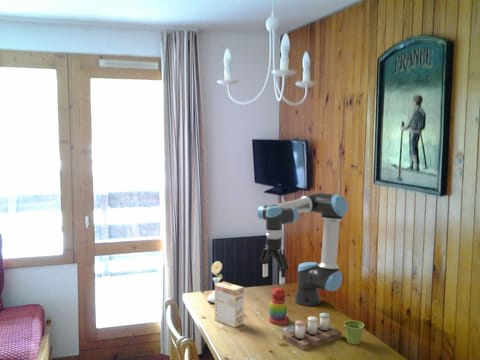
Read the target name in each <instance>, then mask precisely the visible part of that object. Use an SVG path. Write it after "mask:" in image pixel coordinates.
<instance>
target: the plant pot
mask: <svg viewBox="0 0 480 360" xmlns="http://www.w3.org/2000/svg"><path fill="white" fill-rule="evenodd" d="M343 325H344V328H345V335H346V341H347V343H348V344H349V345H360V344H361V340H362V334H363V331H364V330H363V329H364V327H365V324H364V323H363V322H362V321H359V320H353V319H352V320H350V319H349V320H346V321H344V322H343Z"/></svg>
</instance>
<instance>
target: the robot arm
mask: <svg viewBox="0 0 480 360" xmlns="http://www.w3.org/2000/svg"><path fill="white" fill-rule="evenodd" d="M348 210H349V209H348V202H347V200H346V198H345V197H344V196H343V195H340V194H336V193H335V194H334V193H322V192H317V193H312V194H308V195H304V196H302V197H300V198H298V199H294V200H289V201H284V202H280V203H275V204H271V205H266V204H265V205H260V206H259V207H258V208H257V217H258V218H259V219H260V220H263V221H265V222H266V225H265V227H266V228H265V229H266V231H265V232H266V233H265V236H266V238H265V244H264V245H263V247H262V248H263V249H262V252H261V256H260V258H259V262H260V263H261V264H262V277H263V278H266V277H268V276H269V263H268V262H269V260H270V259H271V257H273V258H274V260H276V262H277V266H278V267H279V280H278V281H279V285H282V284H285V283H286V271H288V270H289V265H288V261H287V258H286V254H285V249H283V248H282V249H281V246H282V233H283V232H282V225H286V224H293V223H295V222H297V221H298V219H299V214H300V213H307V214H308V213H316V214H321V219H322V220H323V229H322V240H321V244H322V245H321V257H320V262H319V263H318V262H315V261H307V262H302V263H299V264H298V266H297V290H296V293H295V295H294V302H295V304H297V305H300V306H306V307H314V306H318V305H320V304H321V300H322V299H321V296H320V292H319V289H322V290H325V291H326V292H327V291H329V292H336V291H337V290H338V289H339V288H340V287H341V285H342V282H343V275H342V272H341V271H339V269H340V267H339V265H338V264H337V260H338V247H339V246H338V245H339V233H340V231H339V230H340V222H341V221H342V220H343V217H344V216H346V214H347V212H348Z"/></svg>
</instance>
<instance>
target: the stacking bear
mask: <svg viewBox="0 0 480 360" xmlns="http://www.w3.org/2000/svg"><path fill="white" fill-rule="evenodd" d="M271 296H272V299H271V300H270V301H269V307H268V310H269V316H270V317H269V320H268V321H269V322H270V323H271V324H273V325H277V326H282V327H286V326H288V324H289V322H288V321H289V320H290V317H289V316H288V315H287V313H288V306H287V301H286V297H287V293H286V292H285V291H284V289H283V288H281V287H279V286H277V287H276V288H275V287H274V289H272V293H271Z"/></svg>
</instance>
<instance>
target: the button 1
mask: <svg viewBox="0 0 480 360" xmlns="http://www.w3.org/2000/svg"><path fill="white" fill-rule="evenodd" d="M294 324H295V336H296V337H297V338H304V337H305V326H306V321H305V320H302V319H297V320H295V321H294Z"/></svg>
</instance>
